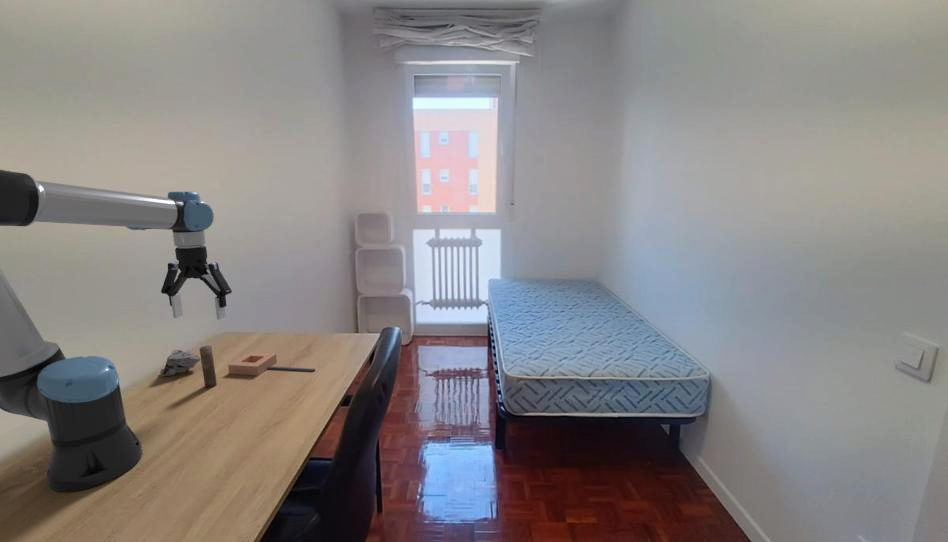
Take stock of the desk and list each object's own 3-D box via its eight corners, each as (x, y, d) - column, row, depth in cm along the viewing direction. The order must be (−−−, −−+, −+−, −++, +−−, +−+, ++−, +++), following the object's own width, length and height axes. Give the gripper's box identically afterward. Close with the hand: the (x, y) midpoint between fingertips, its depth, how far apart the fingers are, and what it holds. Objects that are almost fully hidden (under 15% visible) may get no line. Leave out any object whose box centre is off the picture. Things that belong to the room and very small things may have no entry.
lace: (313, 371, 136) (313, 369, 136) (267, 369, 138) (267, 367, 138) (315, 370, 137) (315, 368, 137) (268, 368, 139) (268, 366, 139)
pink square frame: (258, 375, 134) (257, 366, 133) (229, 373, 135) (228, 364, 134) (276, 362, 144) (275, 353, 143) (249, 360, 145) (248, 352, 144)
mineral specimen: (181, 383, 140) (178, 386, 131) (157, 370, 137) (152, 373, 128) (202, 357, 144) (201, 359, 135) (179, 344, 141) (176, 345, 132)
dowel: (211, 388, 126) (206, 349, 123) (202, 387, 126) (196, 349, 124) (219, 383, 129) (213, 346, 126) (209, 382, 129) (204, 345, 126)
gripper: (239, 244, 125) (247, 314, 129) (160, 243, 127) (170, 312, 131) (222, 248, 117) (231, 322, 122) (139, 247, 120) (150, 319, 124)
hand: (199, 317), depth 126 cm, fingers open, 13 cm apart
